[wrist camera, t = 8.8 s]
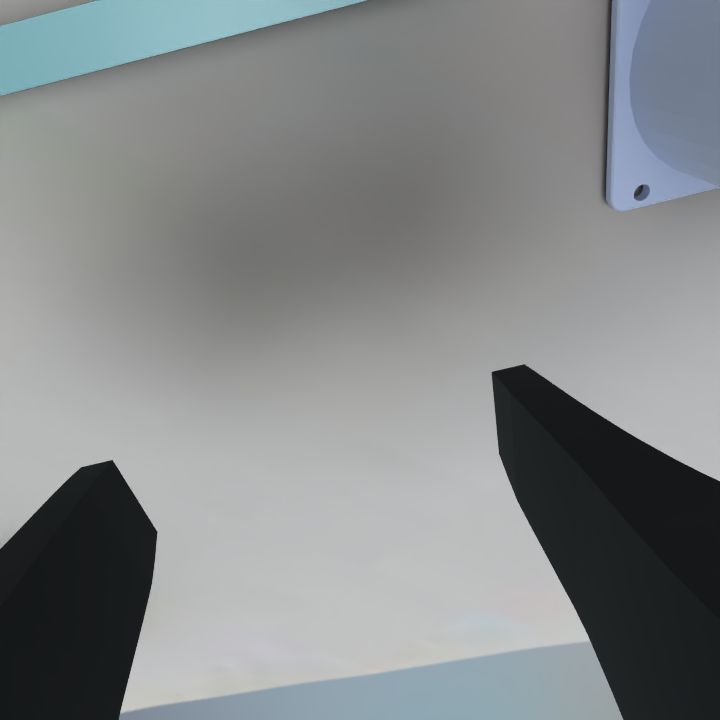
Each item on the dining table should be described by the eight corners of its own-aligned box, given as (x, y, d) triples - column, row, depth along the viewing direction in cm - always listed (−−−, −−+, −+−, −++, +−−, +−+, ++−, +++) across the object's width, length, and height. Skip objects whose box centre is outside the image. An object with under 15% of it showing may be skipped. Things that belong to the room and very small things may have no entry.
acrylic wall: (493, -91, 14) (539, -117, 11) (497, -34, 14) (541, -46, 12) (-252, 105, 14) (-371, 123, 12) (-216, 152, 15) (-321, 179, 12)
